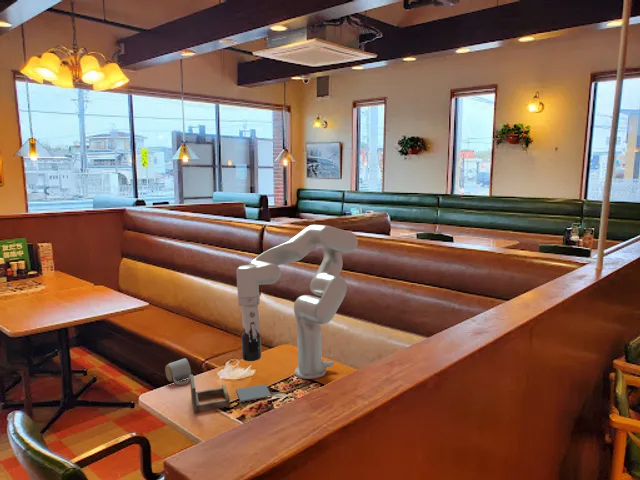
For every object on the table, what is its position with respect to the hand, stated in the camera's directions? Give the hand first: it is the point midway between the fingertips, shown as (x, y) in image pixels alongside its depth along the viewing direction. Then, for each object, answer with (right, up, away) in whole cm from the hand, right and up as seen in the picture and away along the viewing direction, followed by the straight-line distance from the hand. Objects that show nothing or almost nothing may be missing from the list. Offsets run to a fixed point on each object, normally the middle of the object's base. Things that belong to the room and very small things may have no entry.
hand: (251, 348), depth 169 cm
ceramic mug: (-30, -17, +16) cm, 38 cm away
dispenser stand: (-13, -18, -4) cm, 23 cm away
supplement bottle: (0, -4, 0) cm, 4 cm away
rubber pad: (0, -17, +2) cm, 17 cm away
